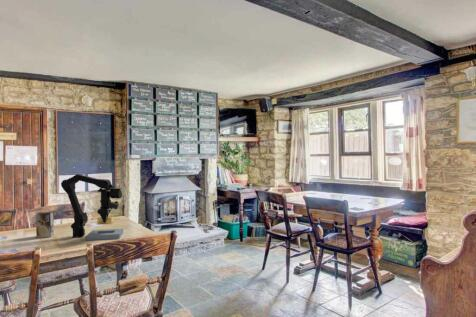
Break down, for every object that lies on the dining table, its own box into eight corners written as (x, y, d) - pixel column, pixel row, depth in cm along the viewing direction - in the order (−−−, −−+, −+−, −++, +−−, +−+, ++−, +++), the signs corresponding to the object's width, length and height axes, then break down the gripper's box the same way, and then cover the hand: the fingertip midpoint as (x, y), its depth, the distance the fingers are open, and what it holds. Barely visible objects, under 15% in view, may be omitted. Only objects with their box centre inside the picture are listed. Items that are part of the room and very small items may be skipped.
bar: (97, 224, 211) (97, 218, 211) (99, 222, 215) (99, 217, 215) (111, 224, 212) (111, 218, 212) (113, 222, 216) (113, 216, 216)
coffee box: (54, 234, 219) (54, 211, 218) (51, 237, 212) (50, 213, 212) (39, 235, 217) (39, 212, 217) (35, 237, 211) (35, 213, 210)
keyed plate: (86, 240, 204) (86, 235, 204) (92, 234, 220) (92, 230, 219) (119, 238, 208) (119, 234, 208) (123, 232, 223) (123, 228, 223)
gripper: (115, 200, 206) (115, 224, 206) (120, 196, 224) (120, 218, 224) (97, 200, 204) (97, 225, 204) (103, 196, 222) (103, 219, 222)
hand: (105, 221), depth 214 cm, fingers closed on bar, 5 cm apart
